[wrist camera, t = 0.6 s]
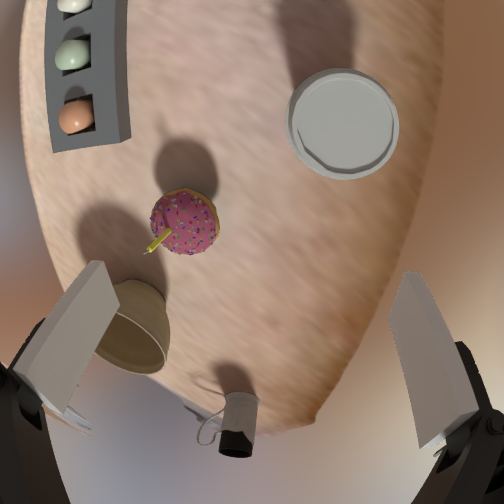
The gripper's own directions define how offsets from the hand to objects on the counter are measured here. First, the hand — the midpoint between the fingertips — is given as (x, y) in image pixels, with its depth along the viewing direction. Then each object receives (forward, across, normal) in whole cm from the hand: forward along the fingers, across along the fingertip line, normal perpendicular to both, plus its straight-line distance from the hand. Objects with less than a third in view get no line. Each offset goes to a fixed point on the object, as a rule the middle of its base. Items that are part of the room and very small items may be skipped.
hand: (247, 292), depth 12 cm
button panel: (+25, -23, +16) cm, 38 cm away
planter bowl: (+25, -23, -25) cm, 42 cm away
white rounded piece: (+24, -23, +24) cm, 41 cm away
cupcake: (+25, -10, -8) cm, 28 cm away
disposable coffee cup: (+25, +6, +5) cm, 26 cm away
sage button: (+24, -23, +16) cm, 37 cm away
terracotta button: (+24, -24, +7) cm, 34 cm away
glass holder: (+25, -9, -59) cm, 64 cm away
